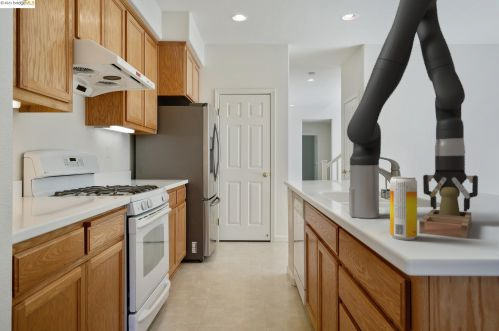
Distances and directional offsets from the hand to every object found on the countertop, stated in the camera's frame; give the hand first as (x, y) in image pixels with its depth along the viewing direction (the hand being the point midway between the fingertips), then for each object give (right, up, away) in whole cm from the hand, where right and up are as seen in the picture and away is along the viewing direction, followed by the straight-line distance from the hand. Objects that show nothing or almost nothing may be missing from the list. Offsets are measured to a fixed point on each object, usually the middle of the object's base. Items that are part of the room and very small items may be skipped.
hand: (449, 209), depth 96 cm
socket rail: (-4, -4, -5) cm, 8 cm away
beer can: (-21, -5, -16) cm, 27 cm away
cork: (0, -4, 0) cm, 4 cm away
